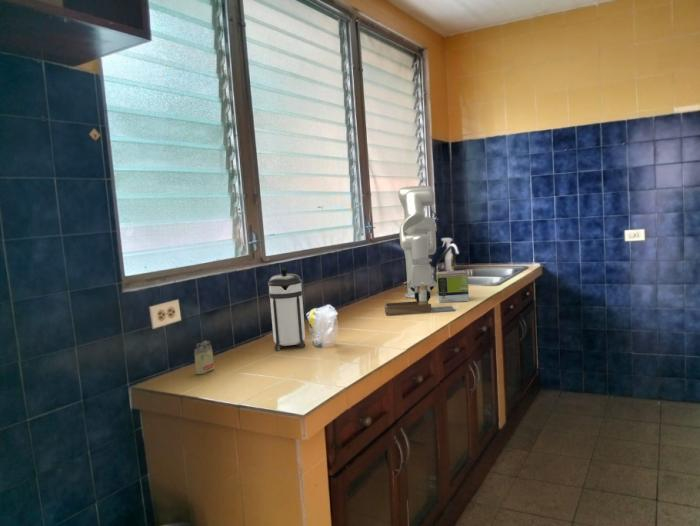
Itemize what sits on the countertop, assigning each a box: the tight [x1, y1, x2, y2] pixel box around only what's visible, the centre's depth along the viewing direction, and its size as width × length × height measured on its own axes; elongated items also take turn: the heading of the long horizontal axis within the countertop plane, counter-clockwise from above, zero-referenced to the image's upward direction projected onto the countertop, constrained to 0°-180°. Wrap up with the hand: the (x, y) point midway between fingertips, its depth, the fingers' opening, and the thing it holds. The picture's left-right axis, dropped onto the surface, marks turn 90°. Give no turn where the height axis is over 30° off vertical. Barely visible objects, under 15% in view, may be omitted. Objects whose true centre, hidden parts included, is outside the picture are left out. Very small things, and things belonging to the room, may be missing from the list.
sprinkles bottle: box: [418, 282, 427, 305], centre depth 258 cm, size 5×5×14 cm
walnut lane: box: [383, 300, 432, 317], centre depth 258 cm, size 10×21×4 cm, turn 90°
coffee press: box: [267, 267, 306, 351], centre depth 209 cm, size 17×16×30 cm
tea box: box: [435, 269, 470, 304], centre depth 279 cm, size 15×10×15 cm, turn 84°
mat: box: [431, 305, 456, 313], centre depth 258 cm, size 10×10×1 cm
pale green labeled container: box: [194, 339, 215, 375], centre depth 183 cm, size 7×4×10 cm, turn 153°
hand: (422, 300), depth 258 cm, fingers closed on sprinkles bottle, 4 cm apart
